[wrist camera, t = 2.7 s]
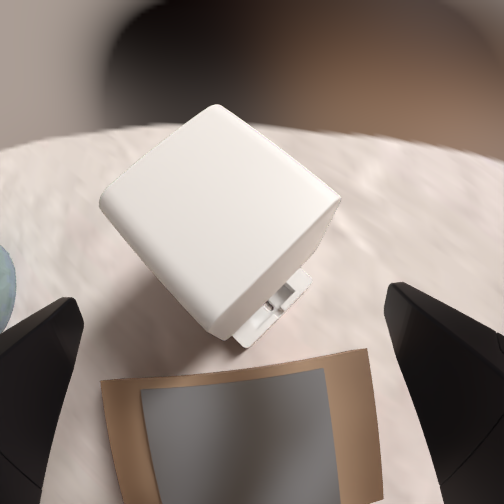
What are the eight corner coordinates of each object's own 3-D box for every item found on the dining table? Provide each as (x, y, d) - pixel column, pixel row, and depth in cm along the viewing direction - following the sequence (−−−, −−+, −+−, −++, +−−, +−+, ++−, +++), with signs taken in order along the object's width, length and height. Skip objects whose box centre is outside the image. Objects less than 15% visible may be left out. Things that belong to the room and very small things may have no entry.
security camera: (235, 206, 21) (220, 96, 12) (315, 280, 20) (366, 206, 10) (163, 273, 20) (91, 199, 10) (241, 355, 18) (225, 352, 9)
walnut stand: (146, 506, 15) (127, 528, 12) (121, 378, 18) (96, 381, 14) (367, 482, 15) (386, 502, 12) (350, 350, 18) (370, 347, 15)
